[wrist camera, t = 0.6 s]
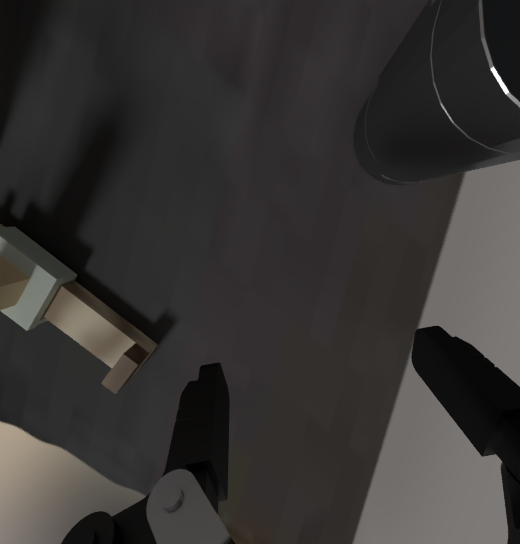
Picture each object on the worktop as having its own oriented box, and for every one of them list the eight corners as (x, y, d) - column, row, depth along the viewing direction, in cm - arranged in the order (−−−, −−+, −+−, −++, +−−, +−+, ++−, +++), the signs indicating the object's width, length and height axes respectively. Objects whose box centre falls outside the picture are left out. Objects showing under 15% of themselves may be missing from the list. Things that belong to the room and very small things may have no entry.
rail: (-25, 247, 32) (-73, 253, 28) (-10, 215, 31) (-58, 216, 27) (137, 371, 34) (115, 394, 29) (158, 344, 32) (138, 365, 28)
